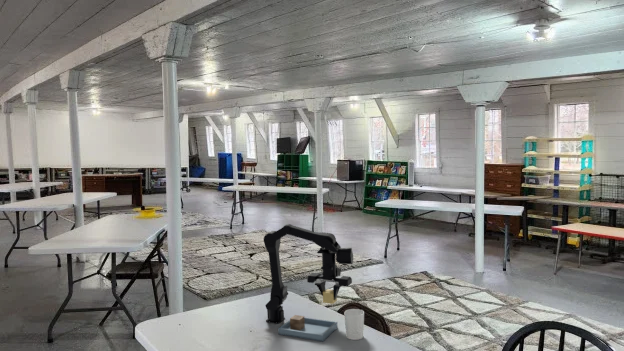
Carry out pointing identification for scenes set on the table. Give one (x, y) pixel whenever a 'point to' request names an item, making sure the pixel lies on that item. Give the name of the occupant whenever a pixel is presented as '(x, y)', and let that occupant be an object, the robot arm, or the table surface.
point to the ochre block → (328, 296)
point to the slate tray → (310, 329)
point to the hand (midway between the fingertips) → (329, 299)
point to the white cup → (354, 323)
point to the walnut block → (297, 322)
